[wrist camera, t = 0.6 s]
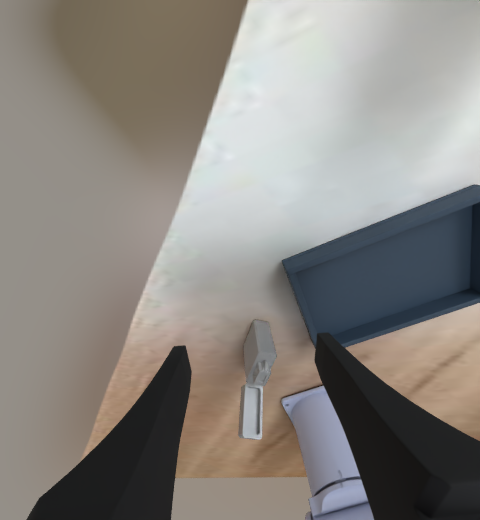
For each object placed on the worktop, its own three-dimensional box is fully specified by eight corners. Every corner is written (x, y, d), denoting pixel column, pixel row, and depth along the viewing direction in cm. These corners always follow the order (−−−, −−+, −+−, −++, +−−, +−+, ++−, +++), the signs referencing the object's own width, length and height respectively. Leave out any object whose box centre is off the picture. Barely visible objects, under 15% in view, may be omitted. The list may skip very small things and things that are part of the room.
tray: (471, 287, 24) (491, 299, 22) (312, 342, 26) (318, 356, 24) (474, 184, 19) (500, 187, 17) (281, 260, 21) (286, 270, 19)
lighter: (254, 319, 24) (265, 391, 17) (269, 322, 24) (287, 394, 17) (235, 366, 27) (238, 445, 19) (249, 368, 27) (257, 447, 20)
